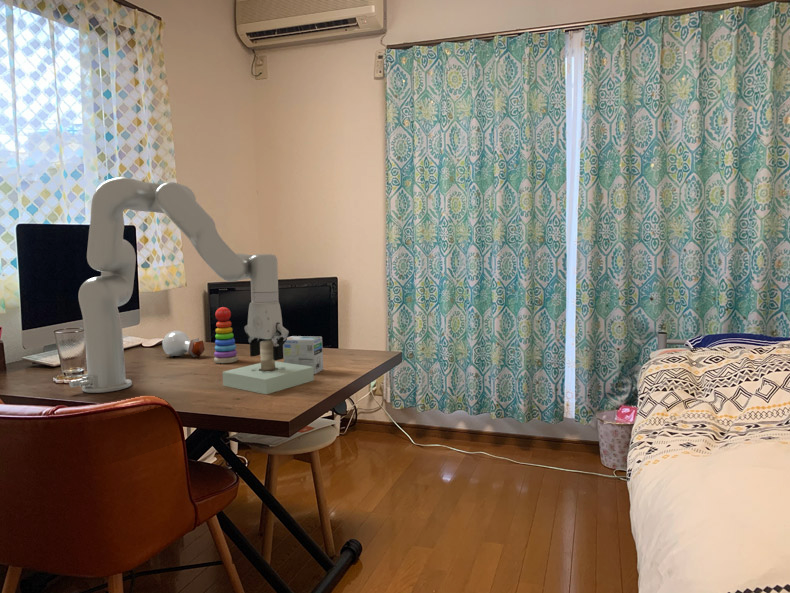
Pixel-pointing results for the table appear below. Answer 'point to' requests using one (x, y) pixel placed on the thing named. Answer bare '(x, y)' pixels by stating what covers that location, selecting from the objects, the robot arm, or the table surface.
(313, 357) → the light bulb box
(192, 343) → the potion bottle
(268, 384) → the board
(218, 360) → the stacking toy
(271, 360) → the peg
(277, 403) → the table surface
